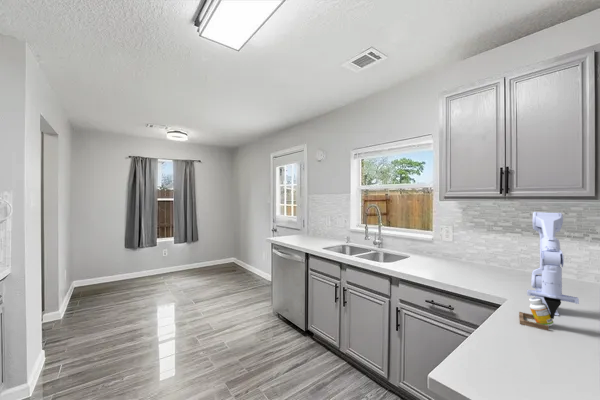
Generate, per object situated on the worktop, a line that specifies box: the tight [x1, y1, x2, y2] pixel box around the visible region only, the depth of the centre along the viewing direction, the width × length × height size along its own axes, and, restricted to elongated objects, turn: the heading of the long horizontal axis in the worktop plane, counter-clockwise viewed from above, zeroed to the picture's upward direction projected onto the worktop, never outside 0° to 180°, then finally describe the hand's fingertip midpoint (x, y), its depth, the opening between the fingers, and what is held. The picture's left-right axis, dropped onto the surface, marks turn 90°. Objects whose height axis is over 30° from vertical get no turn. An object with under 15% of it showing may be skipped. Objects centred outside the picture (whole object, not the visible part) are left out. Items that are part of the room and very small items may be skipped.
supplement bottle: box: [528, 296, 555, 327], centre depth 106 cm, size 5×5×10 cm
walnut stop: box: [518, 311, 550, 331], centre depth 108 cm, size 10×8×2 cm
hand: (551, 317), depth 104 cm, fingers closed, pressing on supplement bottle
